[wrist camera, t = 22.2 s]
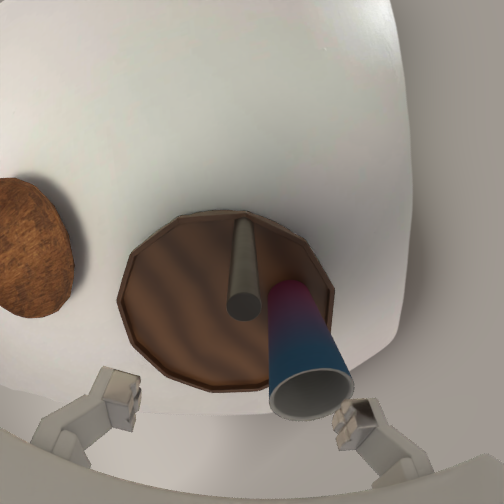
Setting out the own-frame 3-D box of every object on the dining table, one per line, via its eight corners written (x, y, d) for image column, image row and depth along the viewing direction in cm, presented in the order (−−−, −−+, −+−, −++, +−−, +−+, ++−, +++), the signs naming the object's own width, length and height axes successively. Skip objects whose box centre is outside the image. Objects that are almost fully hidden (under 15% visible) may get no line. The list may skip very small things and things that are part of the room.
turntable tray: (255, 162, 29) (269, 197, 14) (358, 330, 38) (403, 424, 23) (88, 284, 34) (23, 369, 19) (208, 401, 43) (200, 491, 28)
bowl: (-27, 205, 30) (-47, 215, 26) (58, 144, 29) (35, 149, 24) (19, 310, 38) (4, 326, 33) (113, 284, 36) (99, 304, 32)
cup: (325, 278, 34) (369, 371, 20) (306, 325, 36) (333, 422, 22) (268, 266, 33) (285, 363, 19) (253, 316, 35) (258, 418, 22)
